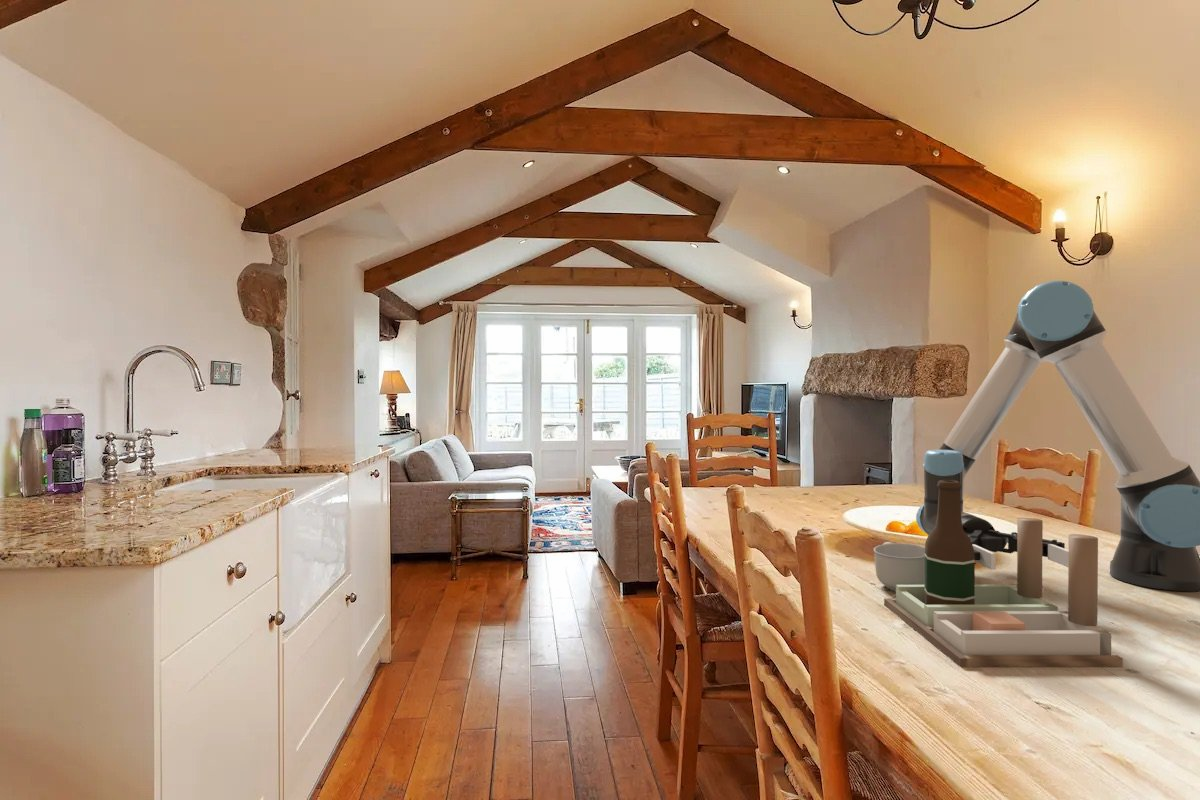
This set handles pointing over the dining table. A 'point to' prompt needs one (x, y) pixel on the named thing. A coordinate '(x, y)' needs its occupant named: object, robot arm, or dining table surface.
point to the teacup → (900, 564)
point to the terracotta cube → (996, 622)
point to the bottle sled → (994, 595)
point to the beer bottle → (949, 553)
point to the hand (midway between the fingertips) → (1034, 561)
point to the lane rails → (1002, 659)
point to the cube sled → (1041, 618)
